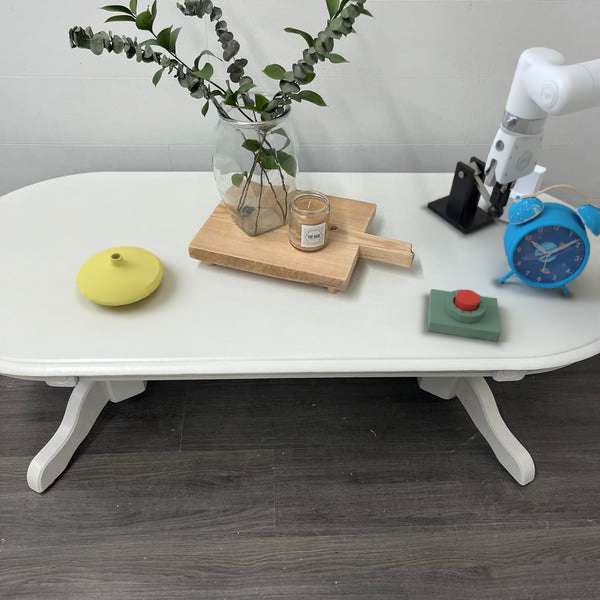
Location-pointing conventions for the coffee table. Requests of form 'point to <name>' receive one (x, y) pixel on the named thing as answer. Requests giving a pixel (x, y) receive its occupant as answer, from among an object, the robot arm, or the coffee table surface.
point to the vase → (119, 275)
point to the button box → (463, 316)
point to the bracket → (463, 200)
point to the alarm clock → (548, 240)
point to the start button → (467, 300)
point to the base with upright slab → (524, 188)
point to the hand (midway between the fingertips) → (497, 204)
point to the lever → (485, 193)
